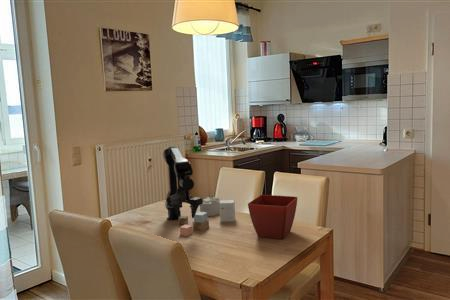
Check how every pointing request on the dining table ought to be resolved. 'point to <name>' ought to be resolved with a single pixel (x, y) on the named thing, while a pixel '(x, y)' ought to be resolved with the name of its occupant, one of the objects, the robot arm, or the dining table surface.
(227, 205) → the small box
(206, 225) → the walnut base block
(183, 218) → the walnut block
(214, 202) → the lumpy-topped squat cylinder
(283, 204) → the plant pot
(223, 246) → the dining table surface
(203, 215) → the slate middle block
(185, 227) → the terracotta cube
